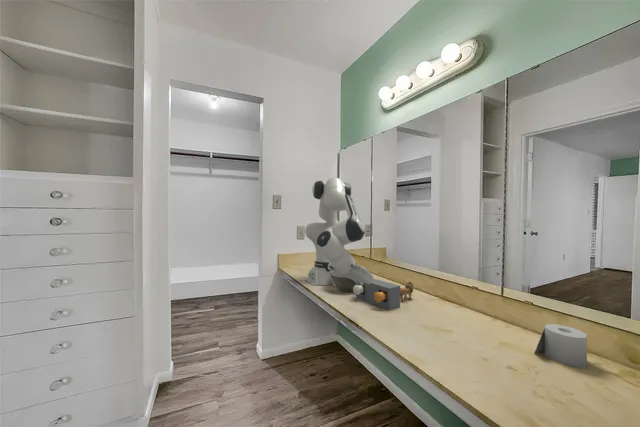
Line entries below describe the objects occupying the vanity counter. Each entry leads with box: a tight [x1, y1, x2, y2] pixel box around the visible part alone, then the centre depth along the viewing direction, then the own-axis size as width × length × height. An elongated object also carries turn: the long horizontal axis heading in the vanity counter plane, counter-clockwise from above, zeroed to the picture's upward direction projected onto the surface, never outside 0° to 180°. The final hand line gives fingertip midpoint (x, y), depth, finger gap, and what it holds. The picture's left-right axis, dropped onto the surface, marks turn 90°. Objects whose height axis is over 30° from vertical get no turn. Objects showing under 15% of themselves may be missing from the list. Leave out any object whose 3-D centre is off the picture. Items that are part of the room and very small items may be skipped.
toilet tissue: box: [534, 323, 588, 369], centre depth 77 cm, size 9×13×9 cm
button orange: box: [374, 291, 387, 303], centre depth 118 cm, size 5×5×5 cm
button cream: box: [352, 285, 365, 296], centre depth 129 cm, size 5×5×5 cm
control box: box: [355, 278, 401, 311], centre depth 126 cm, size 22×8×10 cm, turn 36°
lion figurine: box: [400, 280, 414, 303], centre depth 129 cm, size 15×5×9 cm, turn 131°
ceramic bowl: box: [329, 270, 356, 292], centre depth 148 cm, size 22×23×10 cm
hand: (360, 283), depth 110 cm, fingers closed
